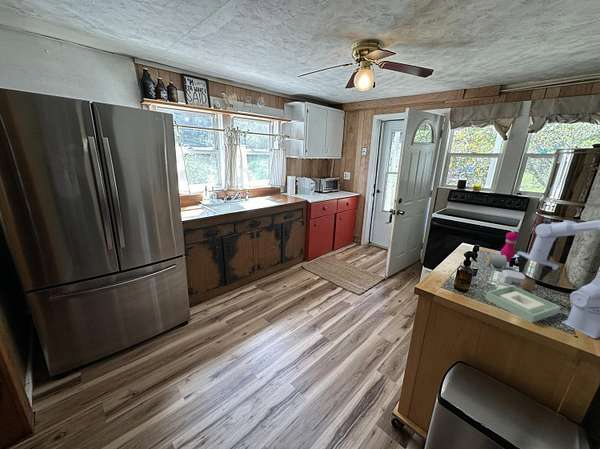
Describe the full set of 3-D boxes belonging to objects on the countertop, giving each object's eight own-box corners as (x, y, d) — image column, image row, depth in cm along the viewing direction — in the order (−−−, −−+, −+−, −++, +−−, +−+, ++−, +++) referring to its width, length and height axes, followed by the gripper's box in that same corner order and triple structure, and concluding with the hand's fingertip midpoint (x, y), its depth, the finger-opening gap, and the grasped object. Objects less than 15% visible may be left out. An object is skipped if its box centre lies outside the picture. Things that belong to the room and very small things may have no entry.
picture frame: (557, 314, 104) (560, 306, 103) (531, 324, 98) (534, 315, 97) (510, 292, 120) (512, 285, 119) (484, 299, 114) (486, 291, 113)
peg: (532, 296, 118) (537, 281, 115) (527, 297, 116) (532, 282, 114) (522, 291, 121) (527, 277, 119) (517, 293, 120) (522, 278, 118)
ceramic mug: (485, 262, 154) (488, 251, 151) (501, 265, 150) (504, 253, 148) (489, 269, 144) (492, 257, 142) (506, 272, 141) (510, 260, 139)
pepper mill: (502, 261, 155) (510, 231, 150) (496, 257, 162) (503, 228, 156) (515, 262, 154) (524, 232, 148) (508, 258, 161) (516, 228, 155)
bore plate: (542, 310, 106) (545, 304, 105) (526, 315, 102) (528, 309, 101) (513, 296, 116) (515, 291, 115) (498, 301, 112) (499, 295, 111)
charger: (519, 276, 137) (526, 288, 124) (498, 272, 141) (503, 284, 129) (521, 268, 136) (529, 280, 123) (500, 264, 140) (505, 275, 127)
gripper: (566, 254, 107) (554, 282, 111) (526, 241, 119) (517, 266, 124) (558, 257, 104) (546, 285, 109) (518, 244, 116) (508, 269, 121)
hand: (530, 275), depth 116 cm, fingers open, 7 cm apart
